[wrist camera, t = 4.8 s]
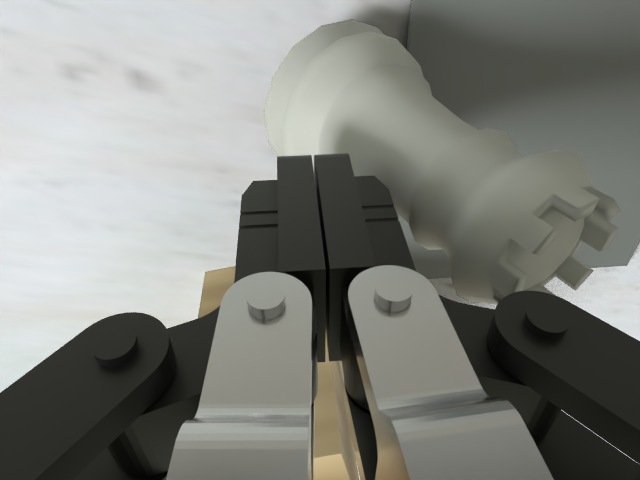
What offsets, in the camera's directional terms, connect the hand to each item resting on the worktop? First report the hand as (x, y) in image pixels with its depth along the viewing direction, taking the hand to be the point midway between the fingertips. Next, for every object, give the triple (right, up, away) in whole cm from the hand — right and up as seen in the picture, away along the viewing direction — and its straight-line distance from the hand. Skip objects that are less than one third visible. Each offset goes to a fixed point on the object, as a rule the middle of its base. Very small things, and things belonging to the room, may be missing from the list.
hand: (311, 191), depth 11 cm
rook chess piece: (0, +3, +3) cm, 4 cm away
